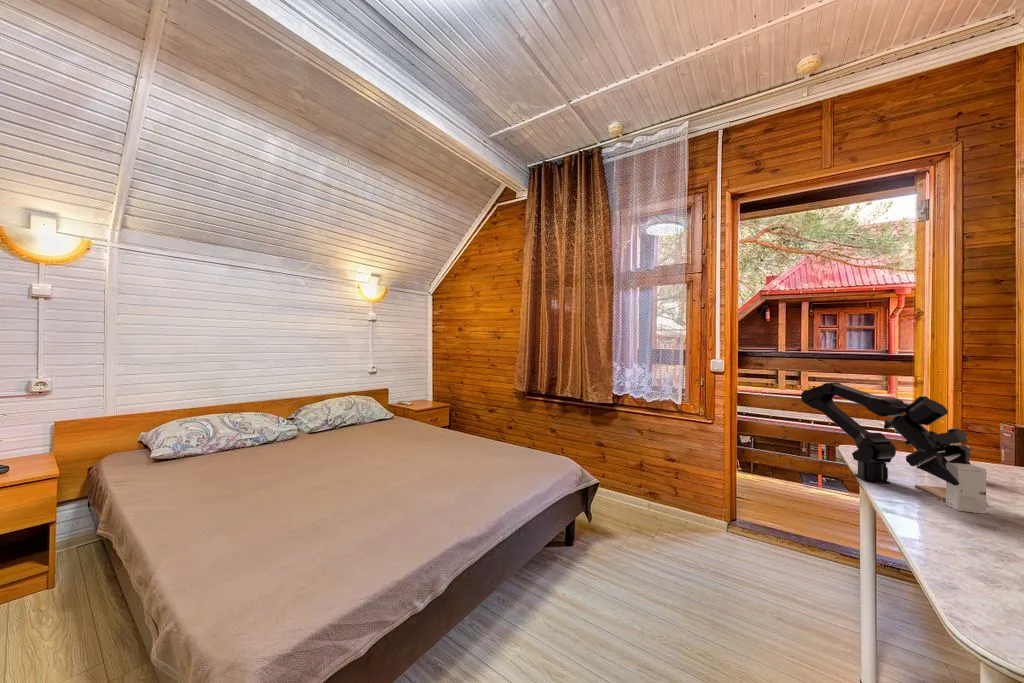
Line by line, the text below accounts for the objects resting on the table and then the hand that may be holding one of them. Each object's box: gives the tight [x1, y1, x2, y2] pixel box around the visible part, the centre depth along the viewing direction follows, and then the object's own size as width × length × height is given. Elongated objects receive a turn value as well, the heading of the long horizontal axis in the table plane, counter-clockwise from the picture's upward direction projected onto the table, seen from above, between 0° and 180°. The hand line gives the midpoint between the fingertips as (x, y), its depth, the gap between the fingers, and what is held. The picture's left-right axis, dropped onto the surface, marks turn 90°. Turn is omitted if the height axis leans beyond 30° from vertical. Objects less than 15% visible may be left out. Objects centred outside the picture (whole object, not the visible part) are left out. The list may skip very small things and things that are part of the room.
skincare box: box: [945, 462, 987, 514], centre depth 102 cm, size 6×4×12 cm
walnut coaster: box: [914, 484, 988, 506], centre depth 111 cm, size 10×10×1 cm
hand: (968, 483), depth 102 cm, fingers open, 9 cm apart
